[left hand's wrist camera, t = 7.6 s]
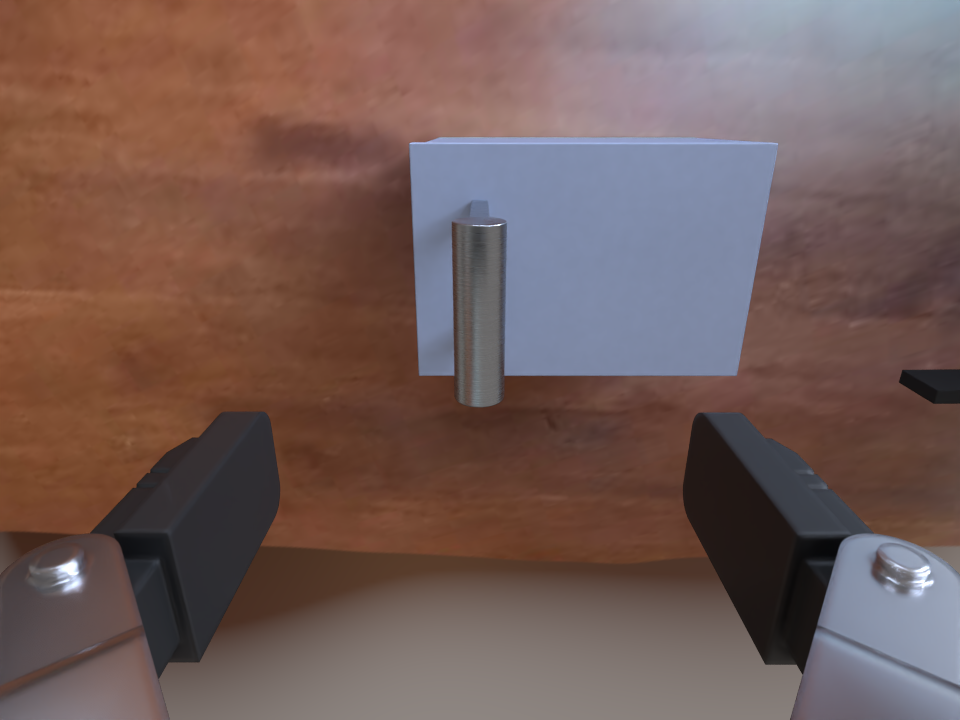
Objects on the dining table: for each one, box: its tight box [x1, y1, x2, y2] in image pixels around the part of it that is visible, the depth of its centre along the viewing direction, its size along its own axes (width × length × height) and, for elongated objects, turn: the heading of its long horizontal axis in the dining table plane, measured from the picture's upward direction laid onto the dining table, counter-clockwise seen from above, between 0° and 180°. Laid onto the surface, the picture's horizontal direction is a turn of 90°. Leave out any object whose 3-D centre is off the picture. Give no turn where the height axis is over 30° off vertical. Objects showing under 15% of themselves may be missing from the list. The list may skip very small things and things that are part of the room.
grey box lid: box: [409, 142, 778, 407], centre depth 23 cm, size 15×10×8 cm
